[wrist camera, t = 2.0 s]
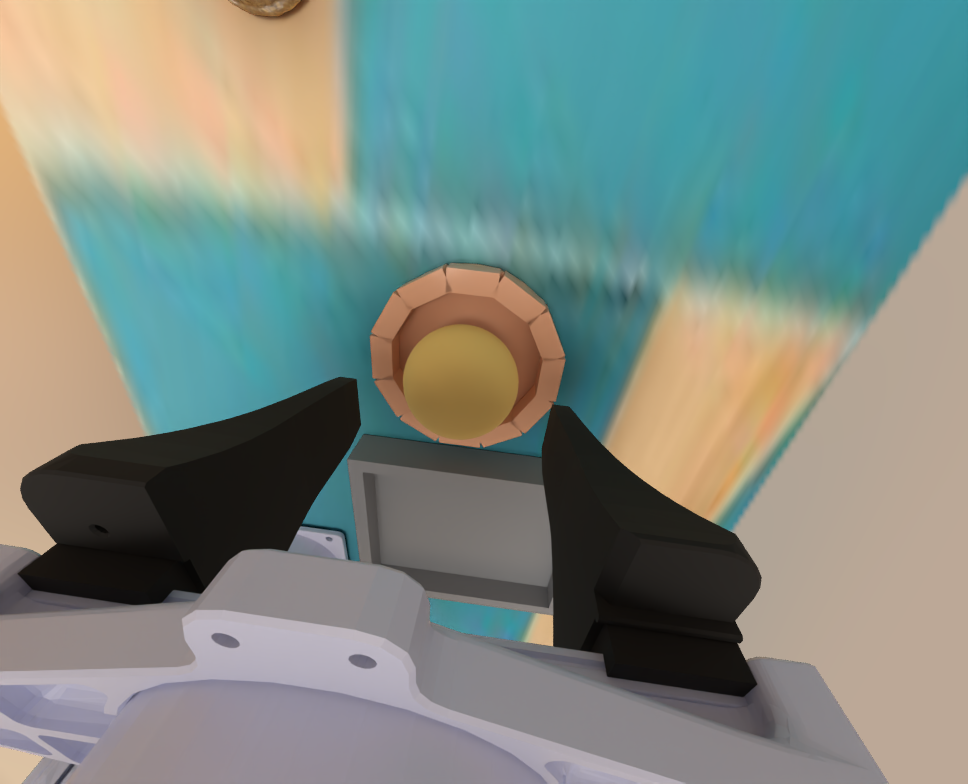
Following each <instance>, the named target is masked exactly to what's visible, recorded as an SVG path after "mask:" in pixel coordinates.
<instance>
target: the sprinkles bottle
mask: <svg viewBox="0 0 968 784" xmlns="http://www.w3.org/2000/svg"><path fill="white" fill-rule="evenodd" d="M228 1H230V2H231V3H232V4H234V5H235V6H237V7H239V8H240V9H242V10H244V11H247V12H249V13H251V14H254V15H262V16H280V15H282V14H283V13H284V12H288V11H290V10H292V9H293V8H294V7H295V6H296V5H297V4H298V3H299V2H300V1H301V0H228Z"/></svg>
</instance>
